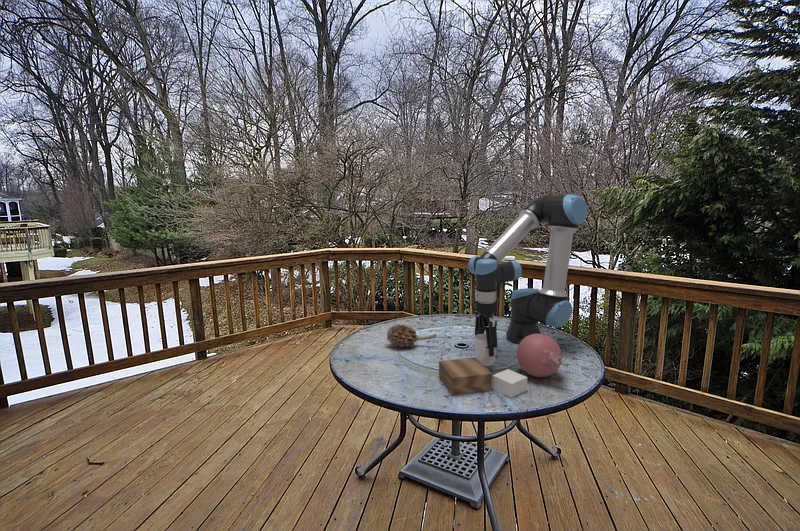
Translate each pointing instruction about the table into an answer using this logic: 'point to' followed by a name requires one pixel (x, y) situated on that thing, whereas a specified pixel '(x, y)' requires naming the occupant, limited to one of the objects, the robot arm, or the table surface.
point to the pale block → (509, 383)
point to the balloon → (539, 355)
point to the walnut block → (465, 376)
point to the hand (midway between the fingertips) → (485, 359)
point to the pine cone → (404, 336)
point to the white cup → (481, 348)
